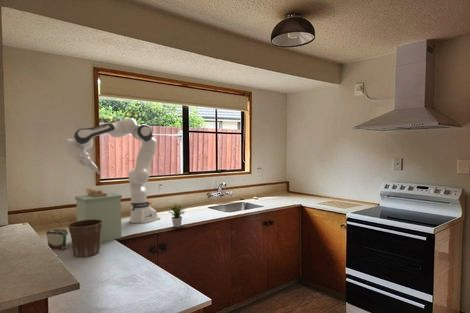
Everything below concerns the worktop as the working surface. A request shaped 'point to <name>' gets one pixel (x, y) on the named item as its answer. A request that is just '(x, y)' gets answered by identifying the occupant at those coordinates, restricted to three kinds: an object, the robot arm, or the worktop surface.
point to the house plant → (177, 215)
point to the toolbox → (102, 212)
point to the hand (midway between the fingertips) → (98, 171)
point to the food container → (57, 239)
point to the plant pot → (85, 237)
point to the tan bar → (93, 191)
